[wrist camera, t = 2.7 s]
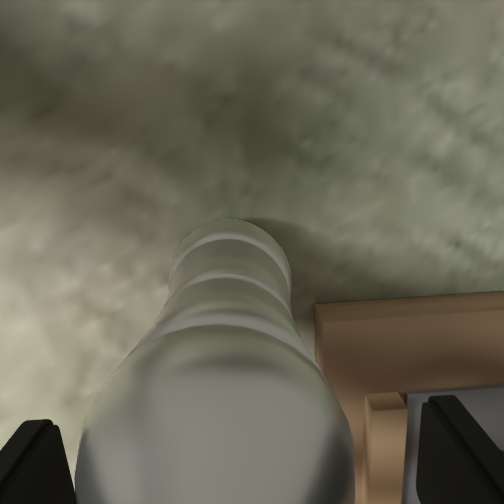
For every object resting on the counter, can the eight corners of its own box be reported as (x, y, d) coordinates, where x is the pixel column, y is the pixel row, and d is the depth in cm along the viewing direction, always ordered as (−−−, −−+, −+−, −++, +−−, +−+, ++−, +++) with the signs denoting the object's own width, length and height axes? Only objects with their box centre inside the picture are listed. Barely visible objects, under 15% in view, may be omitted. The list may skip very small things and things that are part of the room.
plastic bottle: (218, 332, 24) (150, 1057, 5) (154, 247, 23) (-313, 877, 3) (305, 280, 23) (601, 915, 4) (245, 187, 22) (308, 580, 3)
